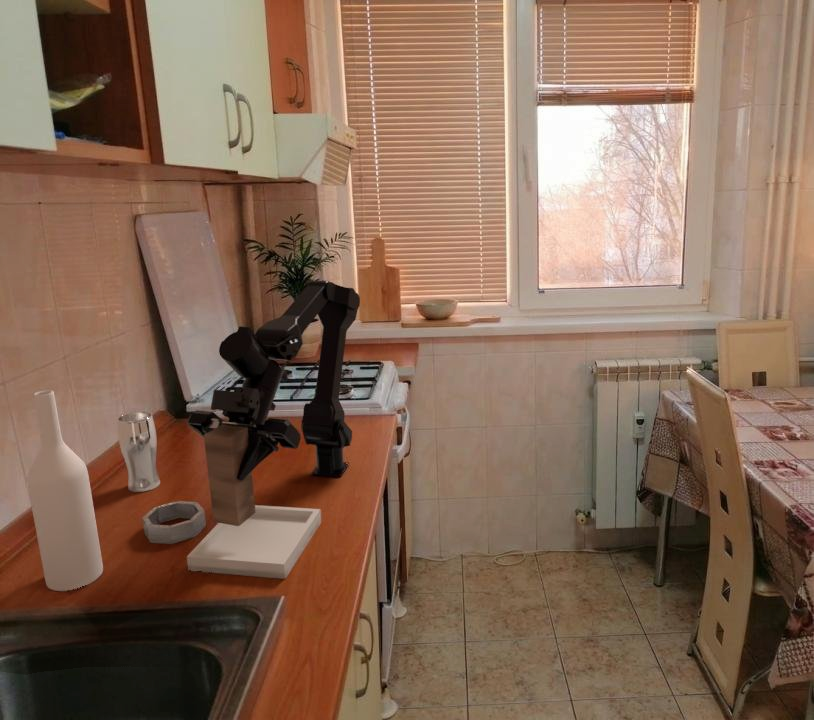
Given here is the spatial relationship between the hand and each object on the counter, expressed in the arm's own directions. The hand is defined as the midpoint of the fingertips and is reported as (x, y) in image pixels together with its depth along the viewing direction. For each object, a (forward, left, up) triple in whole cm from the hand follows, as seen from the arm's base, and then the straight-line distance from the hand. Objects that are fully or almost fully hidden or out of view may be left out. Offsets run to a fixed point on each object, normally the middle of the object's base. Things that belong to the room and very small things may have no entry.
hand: (225, 477), depth 104 cm
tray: (-3, +3, -13) cm, 14 cm away
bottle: (+10, -22, -14) cm, 28 cm away
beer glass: (-22, -30, -14) cm, 40 cm away
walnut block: (-1, 0, -8) cm, 8 cm away
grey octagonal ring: (-6, -14, -13) cm, 20 cm away
